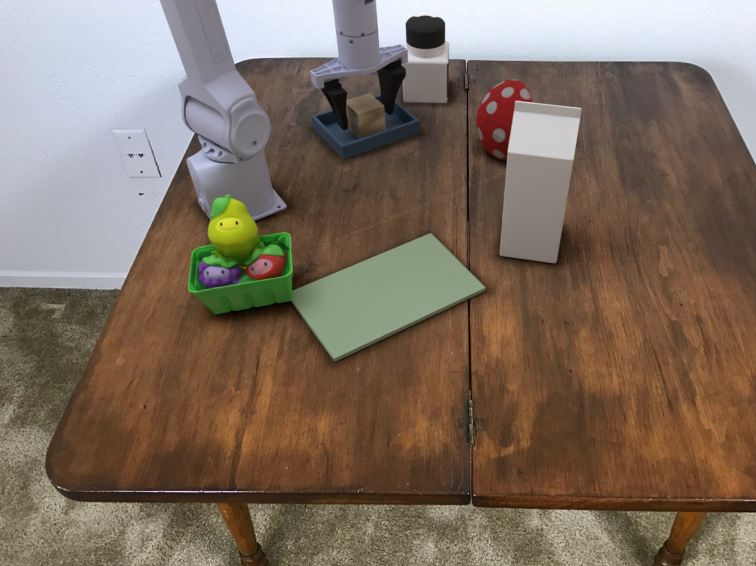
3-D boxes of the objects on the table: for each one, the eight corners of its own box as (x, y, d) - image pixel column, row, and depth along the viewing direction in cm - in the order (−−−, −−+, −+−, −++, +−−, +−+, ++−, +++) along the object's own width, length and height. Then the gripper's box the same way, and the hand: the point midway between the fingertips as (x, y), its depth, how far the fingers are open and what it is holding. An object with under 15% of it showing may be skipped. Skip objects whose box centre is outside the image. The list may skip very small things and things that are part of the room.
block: (360, 141, 101) (357, 114, 97) (346, 127, 103) (343, 101, 100) (386, 132, 102) (384, 105, 99) (371, 119, 105) (369, 92, 102)
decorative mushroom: (587, 78, 97) (498, 56, 90) (595, 150, 95) (505, 134, 88) (542, 115, 107) (458, 98, 100) (549, 181, 105) (464, 168, 98)
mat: (334, 362, 73) (333, 358, 72) (287, 296, 79) (286, 292, 79) (485, 291, 80) (485, 287, 80) (430, 236, 87) (430, 232, 86)
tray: (343, 161, 98) (342, 146, 96) (313, 130, 103) (311, 115, 102) (420, 134, 103) (419, 120, 101) (387, 106, 108) (386, 92, 106)
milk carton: (556, 264, 83) (579, 126, 69) (499, 256, 84) (510, 118, 70) (561, 228, 88) (584, 92, 74) (507, 221, 89) (519, 85, 75)
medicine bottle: (447, 104, 109) (448, 29, 100) (403, 104, 109) (400, 28, 100) (448, 82, 113) (449, 9, 104) (406, 82, 113) (403, 8, 105)
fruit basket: (202, 325, 76) (164, 249, 68) (206, 272, 82) (172, 197, 74) (303, 307, 77) (278, 230, 69) (300, 257, 83) (277, 180, 75)
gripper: (388, 5, 96) (393, 94, 106) (294, 29, 91) (309, 121, 101) (414, 23, 92) (417, 114, 102) (318, 50, 87) (331, 143, 97)
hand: (365, 119), depth 101 cm, fingers open, 7 cm apart
